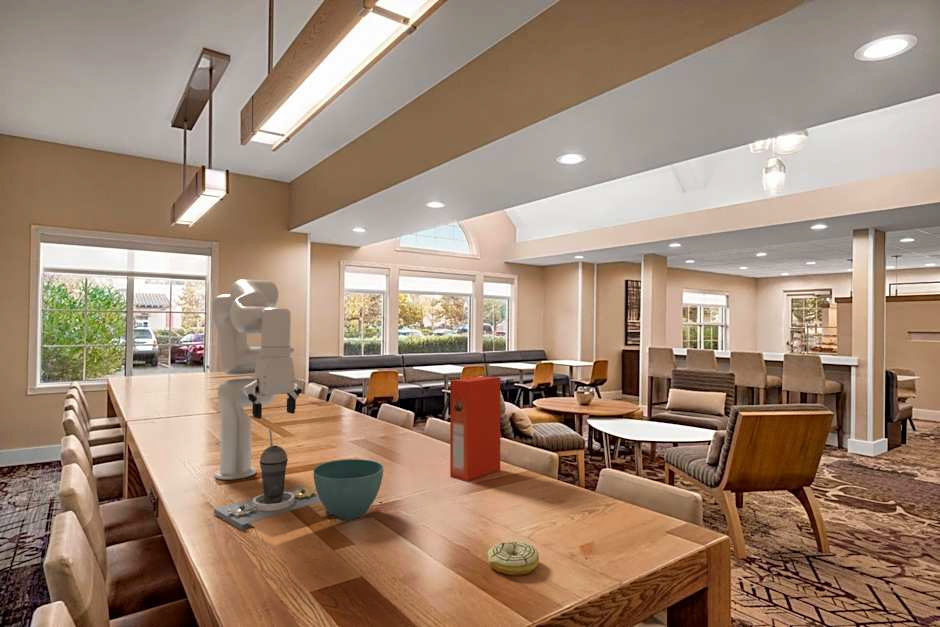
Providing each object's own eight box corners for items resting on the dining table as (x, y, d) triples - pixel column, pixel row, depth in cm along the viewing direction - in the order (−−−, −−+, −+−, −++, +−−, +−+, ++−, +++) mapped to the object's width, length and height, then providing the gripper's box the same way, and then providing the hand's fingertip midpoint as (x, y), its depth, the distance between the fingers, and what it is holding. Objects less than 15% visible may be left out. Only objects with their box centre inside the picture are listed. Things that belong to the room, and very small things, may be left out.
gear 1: (222, 512, 135) (222, 506, 135) (248, 505, 141) (248, 499, 141) (234, 519, 131) (234, 513, 131) (261, 512, 136) (261, 505, 136)
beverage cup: (277, 509, 138) (278, 433, 138) (253, 507, 140) (254, 432, 140) (292, 499, 145) (293, 427, 146) (269, 498, 147) (269, 426, 147)
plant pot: (394, 506, 145) (395, 462, 145) (360, 531, 128) (361, 481, 128) (338, 499, 151) (338, 456, 151) (298, 522, 134) (298, 473, 134)
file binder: (449, 476, 173) (450, 380, 173) (482, 465, 186) (482, 376, 187) (468, 481, 168) (468, 382, 168) (500, 470, 181) (501, 377, 181)
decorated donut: (495, 552, 117) (495, 535, 118) (542, 559, 114) (543, 542, 114) (481, 573, 108) (481, 555, 108) (533, 582, 104) (533, 563, 104)
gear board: (214, 514, 138) (214, 503, 138) (299, 491, 157) (299, 481, 157) (242, 530, 128) (242, 518, 128) (330, 504, 146) (330, 493, 147)
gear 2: (285, 495, 149) (285, 490, 149) (307, 489, 154) (307, 484, 154) (298, 501, 144) (298, 495, 144) (320, 495, 149) (320, 489, 149)
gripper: (296, 350, 152) (295, 409, 152) (237, 353, 139) (236, 417, 139) (311, 352, 147) (310, 413, 147) (251, 355, 134) (250, 422, 134)
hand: (274, 415), depth 143 cm, fingers open, 9 cm apart
